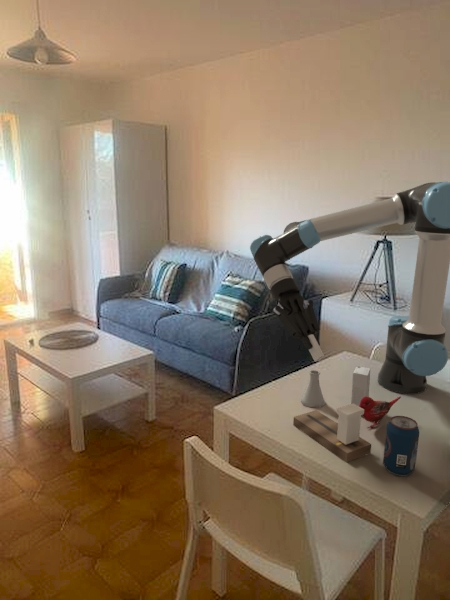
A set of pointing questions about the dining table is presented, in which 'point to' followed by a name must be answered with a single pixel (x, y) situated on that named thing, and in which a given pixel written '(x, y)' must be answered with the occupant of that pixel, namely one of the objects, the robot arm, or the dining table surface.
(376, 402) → the decorative bird figurine
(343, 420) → the fader knob
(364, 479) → the dining table surface
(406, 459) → the soda can
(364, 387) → the skincare box
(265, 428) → the dining table surface
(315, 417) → the fader board
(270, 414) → the dining table surface
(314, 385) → the flask
